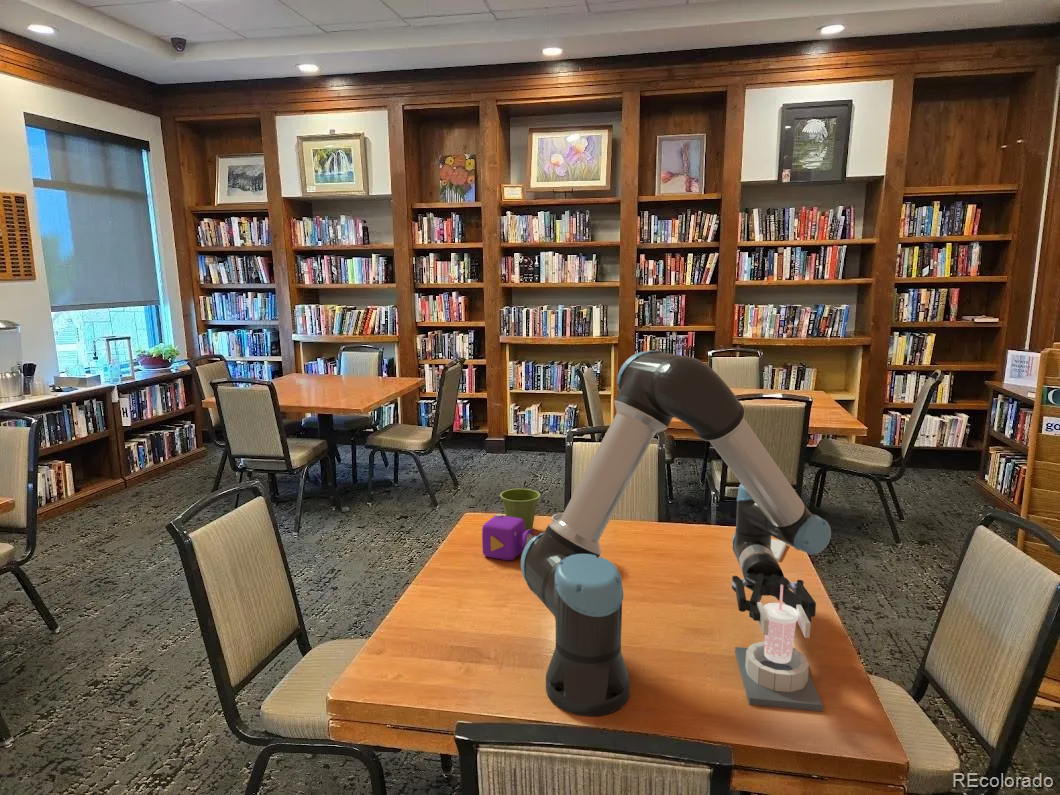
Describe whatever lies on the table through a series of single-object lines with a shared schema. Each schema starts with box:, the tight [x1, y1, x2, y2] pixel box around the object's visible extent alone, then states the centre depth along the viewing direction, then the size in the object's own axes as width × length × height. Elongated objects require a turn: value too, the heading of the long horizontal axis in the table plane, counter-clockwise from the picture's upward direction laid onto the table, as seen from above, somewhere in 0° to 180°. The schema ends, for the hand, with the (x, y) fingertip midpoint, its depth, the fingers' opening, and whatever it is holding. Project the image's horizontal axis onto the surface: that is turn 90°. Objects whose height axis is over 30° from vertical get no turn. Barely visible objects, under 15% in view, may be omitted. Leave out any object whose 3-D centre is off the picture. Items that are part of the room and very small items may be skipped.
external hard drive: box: [771, 538, 788, 562], centre depth 173 cm, size 2×8×12 cm
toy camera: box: [481, 513, 535, 561], centre depth 171 cm, size 11×14×10 cm
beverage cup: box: [763, 585, 798, 664], centre depth 115 cm, size 6×6×14 cm
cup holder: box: [734, 640, 824, 712], centre depth 116 cm, size 12×16×4 cm
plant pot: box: [499, 488, 541, 531], centre depth 187 cm, size 12×12×11 cm
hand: (786, 628), depth 109 cm, fingers closed on beverage cup, 6 cm apart
